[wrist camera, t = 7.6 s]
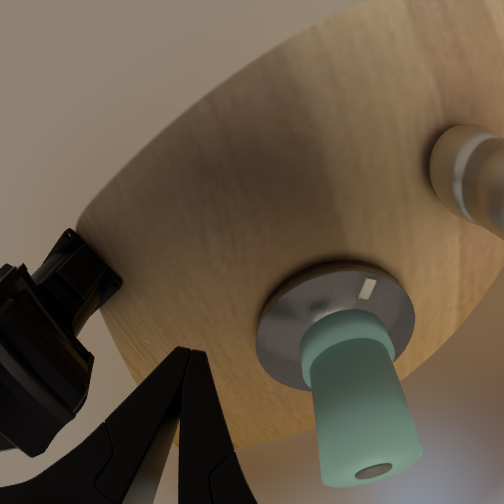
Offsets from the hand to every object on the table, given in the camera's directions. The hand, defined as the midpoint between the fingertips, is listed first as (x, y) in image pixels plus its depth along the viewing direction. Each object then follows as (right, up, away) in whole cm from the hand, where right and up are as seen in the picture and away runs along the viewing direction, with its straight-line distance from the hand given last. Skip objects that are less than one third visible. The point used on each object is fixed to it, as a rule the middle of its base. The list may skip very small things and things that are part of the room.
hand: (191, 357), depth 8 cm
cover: (+9, -4, +14) cm, 17 cm away
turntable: (+9, -4, +15) cm, 18 cm away
